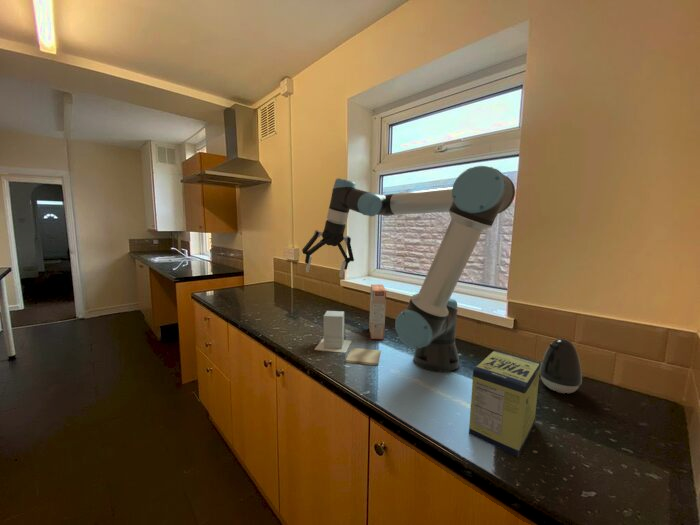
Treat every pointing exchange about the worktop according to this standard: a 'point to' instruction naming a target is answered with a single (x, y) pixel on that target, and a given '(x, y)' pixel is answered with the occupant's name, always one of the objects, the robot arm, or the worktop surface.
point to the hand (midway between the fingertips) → (324, 274)
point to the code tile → (342, 350)
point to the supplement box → (333, 329)
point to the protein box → (504, 400)
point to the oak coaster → (364, 356)
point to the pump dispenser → (561, 367)
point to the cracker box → (377, 311)
